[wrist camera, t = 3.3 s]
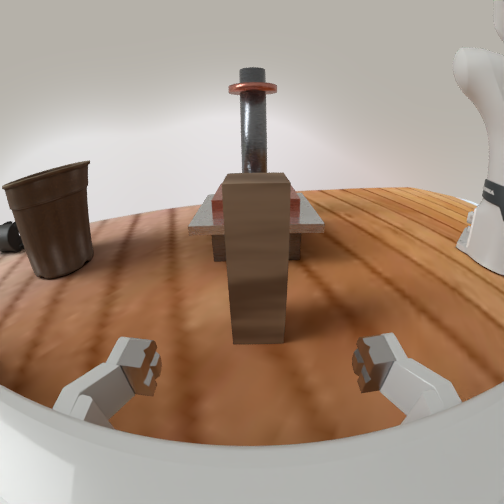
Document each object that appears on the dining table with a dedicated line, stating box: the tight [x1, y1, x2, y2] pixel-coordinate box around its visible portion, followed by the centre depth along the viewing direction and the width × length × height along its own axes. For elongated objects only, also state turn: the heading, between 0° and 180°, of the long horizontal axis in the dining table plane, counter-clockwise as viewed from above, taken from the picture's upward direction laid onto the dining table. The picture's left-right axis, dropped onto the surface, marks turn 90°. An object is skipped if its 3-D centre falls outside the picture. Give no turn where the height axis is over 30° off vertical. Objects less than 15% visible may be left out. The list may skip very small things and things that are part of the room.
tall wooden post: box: [222, 173, 291, 344], centre depth 22 cm, size 4×4×14 cm
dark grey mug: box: [0, 221, 24, 252], centre depth 43 cm, size 10×7×7 cm
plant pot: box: [2, 161, 93, 279], centre depth 35 cm, size 16×16×16 cm
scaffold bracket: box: [188, 67, 325, 261], centre depth 41 cm, size 26×17×30 cm, turn 0°
